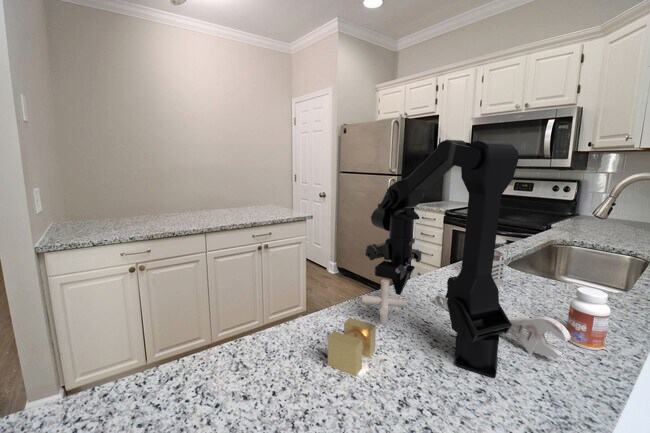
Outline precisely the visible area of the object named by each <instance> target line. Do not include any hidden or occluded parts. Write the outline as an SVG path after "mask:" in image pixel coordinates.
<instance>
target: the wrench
mask: <svg viewBox="0 0 650 433" xmlns="http://www.w3.org/2000/svg"><path fill="white" fill-rule="evenodd" d="M445 296H446V294H439V295H436V296H435V297H434V303H435V305H436V306H438V307H440V308H441V309H444V310H447V311H449V309H448V305H447V300H448V298H445ZM441 300H442V302H441ZM507 318H508V319H509V321H510V323H511V324H512V326H511V328H510V330H509V331H508V333H507V334H509V335H510V336H511V337H513V338H514V339H515V340H517V341H518V342H519V343H520V344H521V345H522V346H523V347H524V350H525V351H526V352H527V353H528V354H529V356H530V355H532V354H535V353H536V354H539V355H541V356H543V357H547V358H548V357H549V358H560V357H561V356H562V355H563V353H562V352H561V351H560V350H559V349H558V348H557V347H555V346H554V345H552V344H550V343H548V342H547V339H546V337H545V333H547V332H551V334H554V335H555V336H556V337H557V338H559V339H560V340H562V341H563V342H565V343H566V342H568V341H569V340H570V338H571V336H570V334H569V331H568V330H567V329H566V328H567V327H565V326H564V325H563V323H561V322H560V321H558V320H557V319H555V318H552V317H549V316H538V317H532V318H531V317H529V318H528V317H527V318H515V317H514V318H513V317H510V316H507Z"/></svg>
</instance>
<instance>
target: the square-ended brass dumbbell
mask: <svg viewBox="0 0 650 433" xmlns="http://www.w3.org/2000/svg"><path fill="white" fill-rule="evenodd" d="M376 327H377V325H375V324H373V323H369V322H366V321H362V320H359V319H356V318H353V317H349V318H348V319H347V320H345V321H344V323H343V333H342V332H339V331H336V330H334V331H333V332H332V333H331V334H330V335H328V336H327V366H328V367H331V368H334V369H336V370H338V371H341V372H343V373H346V374H349V375H351V376H353V377H357V376H358V375H359V373H360V372H361V370H363V368H362V367H363V366H362V365H363V357H366V358H368V359H370V358H371V357H372V356H373V355H374V354H375V352H376V333H377V332H376Z"/></svg>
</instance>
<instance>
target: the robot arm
mask: <svg viewBox="0 0 650 433" xmlns="http://www.w3.org/2000/svg"><path fill="white" fill-rule="evenodd" d="M519 158H520V156H519V151H518V149H517V148H516V147H515V146H514V145H513V144H512V143H510V142H507V141H496V140H494V141H493V140H491V141H490V140H474V141H472V142H468V141H464V140H458V139H445V140H442V141H439V143H438V144H437V146H436V148H435V150H434V151H433V152H432V153H431V154H430V155H429V156H428V157H427V158H426V159H425V160H424V161H423V162H421V163H420V164H419V166H418V167H416V169H415V170H413V171H412V172H411V174H410V175H408V176H407V177H406V178H403V179H401V180H396V182H395V183H392V184H391V185H389V186H388V188H387V189H386V193H385V194H384V196H383V198H382V201H381V202H380V203H378V204H377V208H375V209H374V210H373V211H372V214H371V216H370V221H371V223H372V225H373V226H374V227H376V228H379V229H381V230H384V231H387V232H389V236H388V237H389V238H386V240H384V241H385V242H381V243H378V244H377V243H373V244H369V245H367V246H366V249H365V253H364V254H365V256H366V257H367V258H369V260H370V261H375V259H380V258H383V261H381V262H380V263H378V264H377V265H376V266H375V267H374V276H375V277H380V278H382V279H384V278H385V279H387V280H389V279H390V280H391V281H392V285H393V288H394V291H395V294H396V295H398V296H400V295H401V294H402V293H403V291H404V289H405V286H406V285H407V283H408V281H409V279H410V277H411V275H412V273H413V272H414V270H415V268H416V267H415V266H414V265H410V263H411V261H412V260H415V262H416V263H420V262H421V261H422V252H421V251H420V250H419V249H416V248H413V245H414V243H415V242H416V238H414V221H415V220H420V215H419V214H418V213H417V212H416V211H415V209H414V208H416V207H417V206H418V205H419V204H420V203H421V201H422V200H423V199H424V197H425V192H426V191H427V189H429V188H430V187H431V186H432V185H434V184H435V183H436V182H437V181H438V180H439V179H441V178H442V177H443V176H444V175H445V174H446V173H448V172H449V171H450V170H452V169H453V167H458V168H459V167H460V168H461V169H460V173H461V180H462V182H463V184H464V186H465V188H466V190H467V192H468V200H467V208H466V209H467V211H466V219H465V220H466V222H465V229H464V230H465V231H464V240H463V250H462V260H461V261H462V262H461V268H460V272H459V274H458V275H456V276H450V277H447V278H448V279H447V281H446V282H447V283H446V284H447V286H446V289H447V290H446V294H445V298H448V300H447V305H448V309H449V310H448V313H449V314H448V315H449V318H450V319H449V320H450V324H451V330H452V331H454V332H455V334H456V335H455V339H454V340H455V341H454V354H453V355H454V357H455V362H454V365H455V366H457V367H460V368H462V369H465V370H467V371H471V372H475V373H477V374H481V375H483V376H487V377H491V378H493V379H494V378H497V368H498V361H499V356H498V354H499V353H498V352H499V343H500V335H502V334H509V333H508V331H509V330H510V328H511V326H512V324H511V323H510V321H509V319H508V318H507V317H508V316H507V315H506V312H505V311H504V309H503V307H502V306H501V304H500V297H499V295H500V294H499V292H500V291H499V288H497V286H496V284H495V282H494V280H493V277H492V267H493V259H494V251H496V244H495V242H496V235H497V233H498V227H499V226H498V223H499V217H500V209H501V202H502V201H501V200H502V196H503V194H504V193H505V191H506V190H507V188H508V187H509V185H510V184H511V182H512V181H513V180H514V176H515V174H516V170H517V167H518V164H519Z"/></svg>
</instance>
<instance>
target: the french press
mask: <svg viewBox="0 0 650 433" xmlns="http://www.w3.org/2000/svg"><path fill="white" fill-rule="evenodd" d="M495 245H499V247H500V248H501V249H504V248H506V257H505V258H504V257H502V256H504V253H503V252H502V251H499V250H496V249H495V251H494V259H493V267H492V277H493V280H494V282H495V284H496V286H497V288H498V289H501V288H500V287H503V286H504V284H505V282H504V281H503V271H504V268H505V267H507V266H508V265H509V264H510V262H511V260H512V256H513V251H512V249H511V246H509V245H508V244H507V239H505V238H504V237H502V236H500V235H497V234H496V242H495ZM502 245H503V247H502ZM508 249H509V250H510V258H509V261H508V263H506V262H507V260H508V257H509V250H508ZM504 263H506V264H505V265H504ZM503 288H504V287H503Z"/></svg>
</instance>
